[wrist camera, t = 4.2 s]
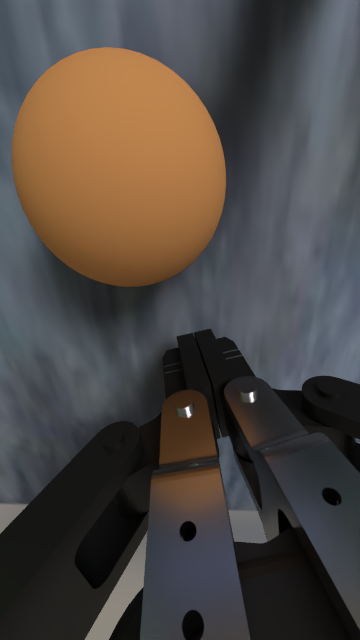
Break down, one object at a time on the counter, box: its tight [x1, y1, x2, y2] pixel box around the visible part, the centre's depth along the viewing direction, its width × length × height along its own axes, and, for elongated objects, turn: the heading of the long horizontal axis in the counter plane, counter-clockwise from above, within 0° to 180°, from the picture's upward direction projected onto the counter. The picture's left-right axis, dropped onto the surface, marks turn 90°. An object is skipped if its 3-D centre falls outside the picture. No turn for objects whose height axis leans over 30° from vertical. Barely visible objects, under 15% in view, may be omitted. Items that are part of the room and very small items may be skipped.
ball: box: [12, 47, 226, 287], centre depth 7 cm, size 6×6×6 cm
